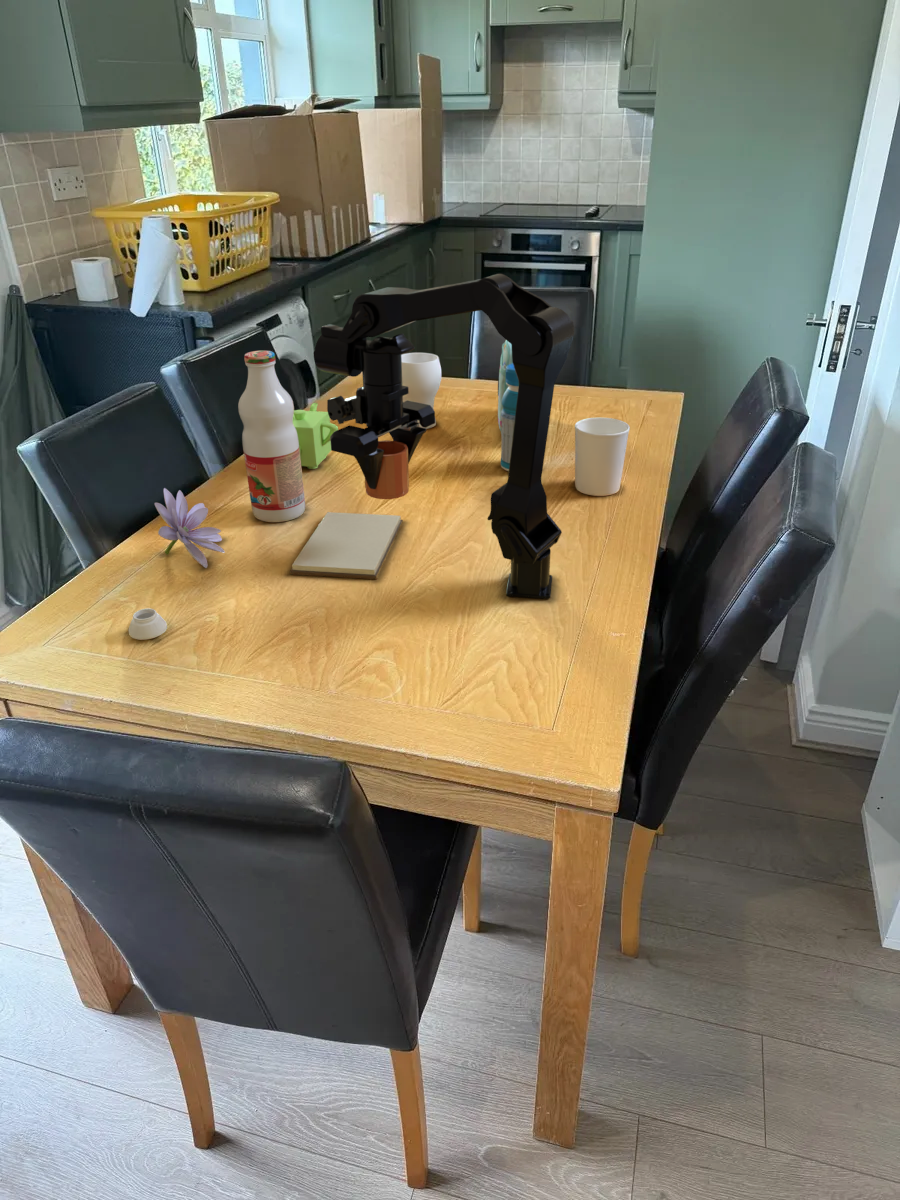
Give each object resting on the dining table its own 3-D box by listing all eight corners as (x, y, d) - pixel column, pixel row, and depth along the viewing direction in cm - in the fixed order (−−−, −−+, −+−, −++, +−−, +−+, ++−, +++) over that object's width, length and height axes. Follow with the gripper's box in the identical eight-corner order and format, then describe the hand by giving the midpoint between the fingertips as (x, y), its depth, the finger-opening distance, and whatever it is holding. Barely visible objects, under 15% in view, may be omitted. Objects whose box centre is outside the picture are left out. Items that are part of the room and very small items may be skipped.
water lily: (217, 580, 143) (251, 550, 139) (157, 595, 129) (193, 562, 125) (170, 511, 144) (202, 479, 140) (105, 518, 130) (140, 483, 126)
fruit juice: (308, 520, 147) (291, 358, 133) (254, 526, 145) (230, 363, 131) (303, 499, 155) (286, 344, 141) (251, 505, 153) (228, 349, 139)
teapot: (287, 480, 163) (281, 427, 158) (255, 461, 173) (248, 411, 167) (354, 462, 171) (350, 410, 166) (320, 445, 181) (315, 396, 175)
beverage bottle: (496, 473, 165) (497, 371, 155) (504, 458, 172) (505, 359, 162) (538, 476, 163) (543, 373, 153) (545, 461, 170) (549, 361, 160)
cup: (388, 421, 194) (385, 355, 186) (431, 414, 198) (429, 349, 190) (406, 434, 186) (403, 366, 178) (450, 427, 189) (449, 360, 182)
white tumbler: (588, 474, 164) (592, 413, 158) (633, 485, 159) (639, 424, 153) (560, 489, 157) (564, 427, 151) (606, 502, 152) (612, 438, 146)
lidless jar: (156, 618, 119) (123, 632, 116) (152, 600, 117) (118, 614, 114) (174, 632, 116) (140, 646, 113) (170, 613, 114) (135, 627, 111)
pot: (404, 500, 128) (402, 457, 124) (361, 498, 129) (358, 454, 125) (412, 483, 134) (411, 441, 130) (371, 481, 134) (369, 439, 131)
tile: (376, 579, 128) (375, 570, 127) (290, 574, 130) (289, 565, 129) (403, 522, 146) (402, 514, 145) (326, 519, 148) (326, 511, 147)
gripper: (378, 359, 133) (382, 453, 141) (297, 387, 120) (307, 489, 128) (436, 369, 128) (437, 466, 136) (358, 400, 114) (364, 506, 122)
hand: (387, 481), depth 130 cm, fingers closed on pot, 7 cm apart
